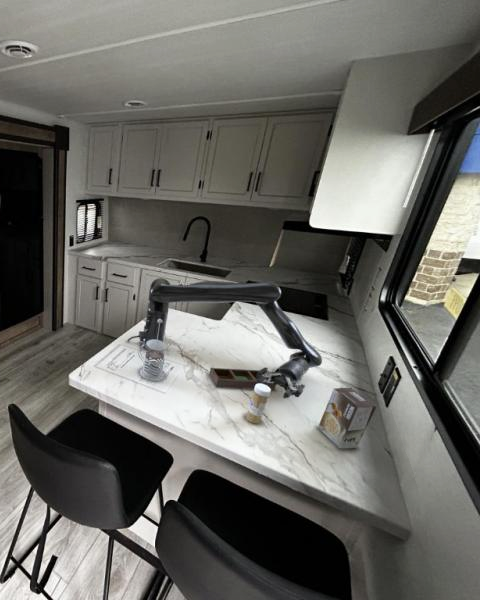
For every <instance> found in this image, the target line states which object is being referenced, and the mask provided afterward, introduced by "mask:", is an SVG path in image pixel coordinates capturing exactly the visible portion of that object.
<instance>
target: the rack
mask: <svg viewBox="0 0 480 600" xmlns="http://www.w3.org/2000/svg"><path fill="white" fill-rule="evenodd" d="M260 370H261V369H240V368H220V367H210V369H209V373H208V376H209V377H210V379H211V381H212V382H213V385H214V386H215V388H225V389H226V388H227V389H245V390H254V388H255V385H256V384H258V383H257V379H258V378H256V376H257V373H258V371H260ZM266 378H267V377H265V379H266ZM262 384H264V385H267V386H268V387H269V388H270V389H271V391H275V390H276V387H277V384H274V383H268V382H263V383H262Z"/></svg>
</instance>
